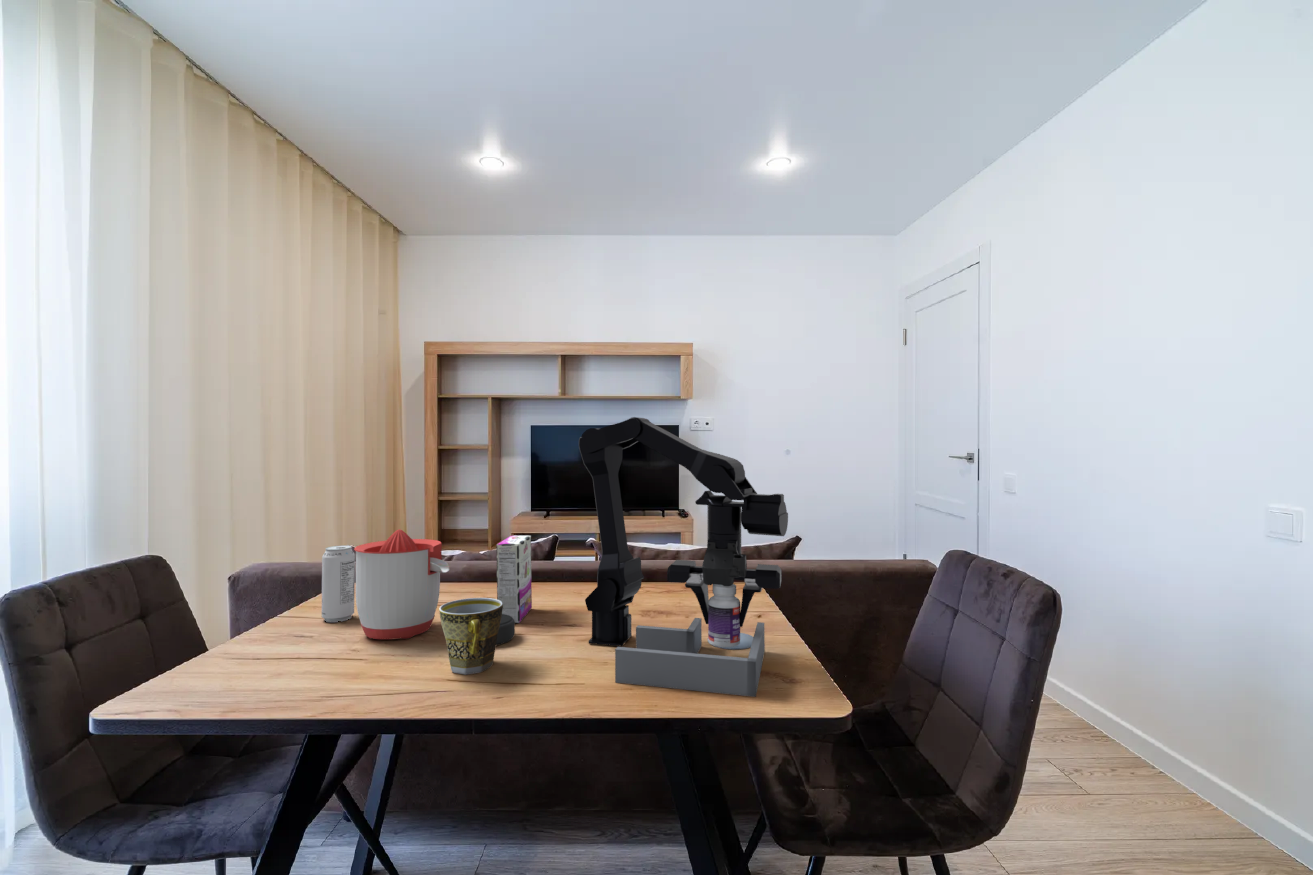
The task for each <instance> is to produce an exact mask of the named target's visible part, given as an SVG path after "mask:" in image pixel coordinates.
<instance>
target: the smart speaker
mask: <svg viewBox="0 0 1313 875" xmlns="http://www.w3.org/2000/svg"><path fill="white" fill-rule="evenodd" d="M515 624H516V623H515V621H514V619H513V618H512V617H511V616H509V615H506V614H502V617H501V622H500V627H499V631H498V636H497V642H496V646H499V645H503V644H506V643H508V642H510V641H511V640H512V639H514V637H515V634H516V632H515V631H516V630H515V629H516V627H515Z"/></svg>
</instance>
